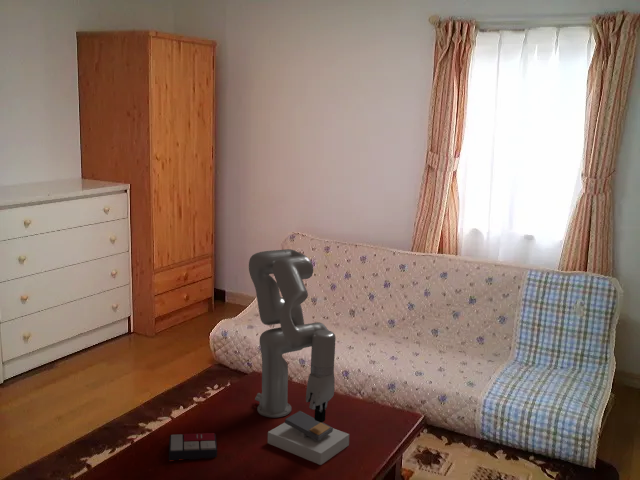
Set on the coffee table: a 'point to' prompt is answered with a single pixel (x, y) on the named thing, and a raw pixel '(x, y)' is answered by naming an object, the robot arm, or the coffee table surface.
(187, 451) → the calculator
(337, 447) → the switch box
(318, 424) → the rocker switch
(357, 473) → the coffee table surface
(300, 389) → the coffee table surface
